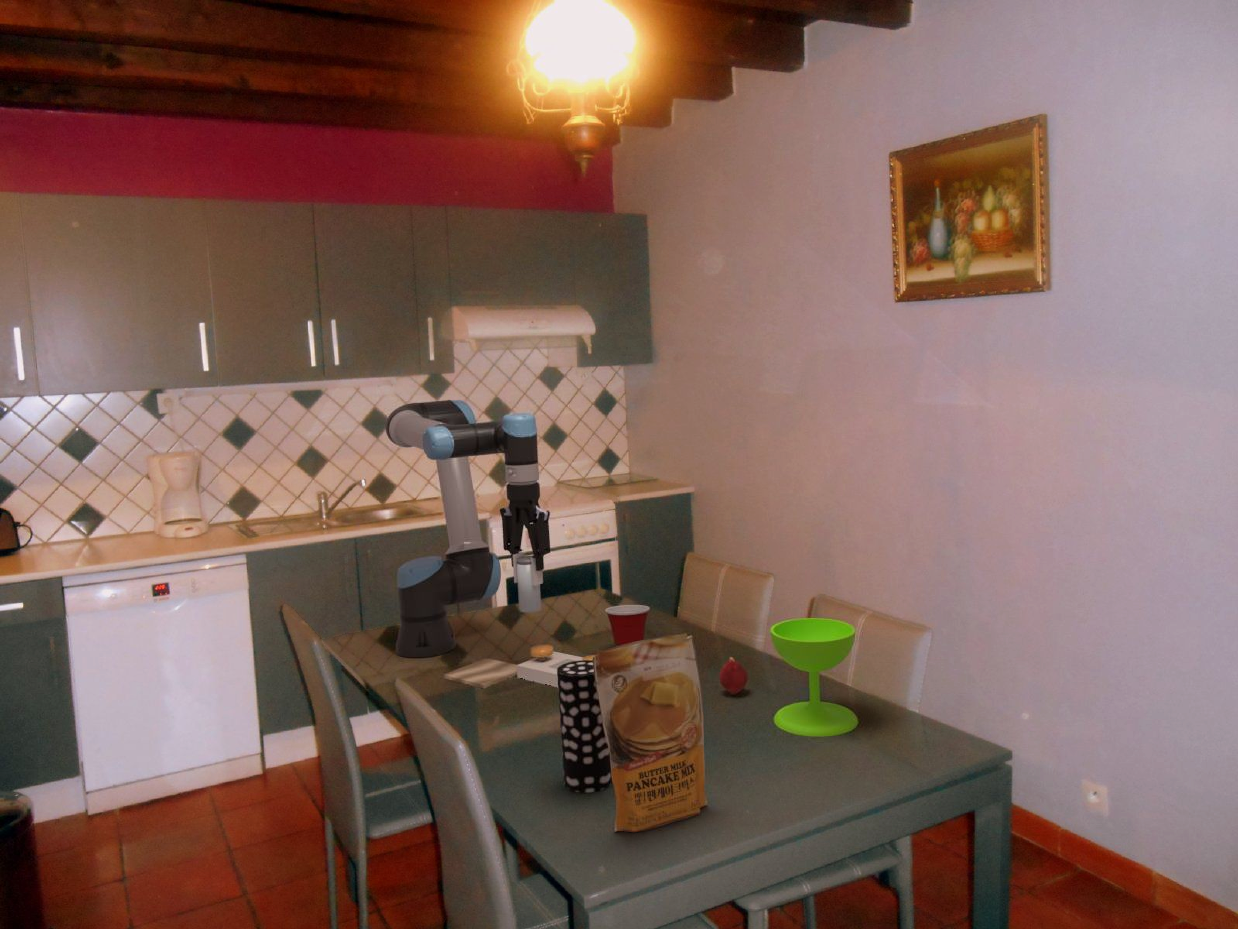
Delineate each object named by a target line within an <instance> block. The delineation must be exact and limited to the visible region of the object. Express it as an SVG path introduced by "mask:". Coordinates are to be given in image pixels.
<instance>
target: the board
mask: <svg viewBox="0 0 1238 929" xmlns="http://www.w3.org/2000/svg"><path fill="white" fill-rule="evenodd" d="M517 665H518V664H515V663H510V662H507V661H500V660H497V659H492V658H489V657H488V658H483V659H481V660H479V661H475V662H473V663H471V664H468V665H465V666H463V667H460V668H457V669H454V670H452V671H450V672H447V673H444V674H442V678H443V679H445V680H450V681H453V682H456V683H462V684H465V685H468V684H469V686H471V687H472V686H473V687H476V688H481V689H487V688H489V687H491V685H492V686H494V685H497V684H499V683H501V682H504V681H506V680H508V679H507V678H509V679H511V678H513V676H514V677H516V676H517ZM515 675H516V676H515ZM500 681H501V682H500ZM498 682H499V683H498ZM493 684H494V685H493Z"/></svg>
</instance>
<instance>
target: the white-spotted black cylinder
mask: <svg viewBox="0 0 1238 929" xmlns="http://www.w3.org/2000/svg"><path fill="white" fill-rule="evenodd" d="M557 679H558V687H557V691H558V708H559V726H560V737H561V754H562V767H563V768H562V769H563V770H562V771H563V784H564V786H565V788H566V789H568V790H569V791H572V792H576V793H584V794H585V793H594V792H600V791H602V790H604V789H607V788H608V787H609V786H611V785H613V782H612V775H611V763H610V752H609V748H608V744H607V741H606V737H605V733H604V729H603V724H602V717H601V710H600V703H599V697H598V694H597V690H596V685H595V677H594V669H593V660H580V661H573V662H568V663H565V664H563V665H561V666H559V667H558V668H557Z"/></svg>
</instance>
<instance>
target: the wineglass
mask: <svg viewBox="0 0 1238 929" xmlns="http://www.w3.org/2000/svg"><path fill="white" fill-rule="evenodd" d="M769 632H770V636H771V642H772V644H773V646H774V648H775V650H776V652H777V654H778V655H779V656H780V657H781V658H782V660H784V661H785V663H787V664H789V665H790V666H791V667H792V668H795V669H796V670H800V671H804V672H807V673H808V683H809V701H800V702H794V703H790V704H788V705H786V706H783V707H782V708H780V709H779V710H777V712H776V713H775V715H774V717H773V722H774V724H775V725H776V727H777V728H779V729H781V730H783V731H785V732H787V733H790V734H794V735H798V736H803V737H810V738H811V737H813V738H814V737H819V738H820V737H821V738H823V737H834V736H839V735H844V734H845V733H848V732H851V731H852V730H854V729H856V728H857V725H859V721H858V720H859V719H858V717H857V715H856V714H855V713H854V712H853V711H852V710H851V709H849V708H848V707H845V706H842V705H840V704H837V703H833V702H828V701H827V702H826V701H821V699H820V698H821V697H820V695H821V694H820V693H821V692H820V672H826V671H829V670H832V669H834V668H835V667H836V666H838V665H840V664H841V663H843V662H844V660H845V659H846V658H847V656H848V655H849V654H850V652H851V651H852V648H853V646H854V643H855V637H856V628H855V627H854V625H852V624H850V623H847V622H845V621H841V620H838V619H831V618H823V617H822V618H820V617H818V618H817V617H807V618H806V617H803V618H795V619H788V620H787V619H786V620H784V621H780V622H778V623H775V624H774V625H772V626H771V627H770V631H769Z"/></svg>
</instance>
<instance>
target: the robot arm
mask: <svg viewBox="0 0 1238 929" xmlns="http://www.w3.org/2000/svg"><path fill="white" fill-rule="evenodd" d="M385 433H386V435H387V438H388V439H389V440H390V441H391V442H392V443H393V444H394V445H396V446H398V447H401V448H413V447H414V448H417V449H419V450H423V451H424V454H425V455H426V457H427V458H428V459H429V460H431V461H432V460H433V461H435V462H436V463H435V464H436V469H437V476H438V481H439V487H440V488H439V489H440V494H441V495H440V496H441V499H442V506H443V513H444V519H445V526H446V532H447V536H448V543H449V547H448V549H447V551H446V552H445V553H444V555H445V560H443V557H441V556H438V555H430V556H423V557H419V558H418V557H417V558H414V559H412V560H409V561H407V562H405V563H403V564H402V565H400V567H399V568H398V569H397V576H396V577H397V581H396V582H397V584H396V586H397V592H398V601H399V602H398V604H399V613H400V615H399V616H400V626H399V629H398V635H397V640H396V641H395V642H396V643H395V651H396V654H397V655H398V656H400V657H404V658H414V659H415V658H429V657H435V656H439V655H442V654H443V655H444V654H446V653H448V652H450V651H452V650H454V649H455V648H456V646H457V644H456V643H457V642H456V637H455V634H454V632H453V629H452V627H451V625H450V622H449V619H448V616H447V606H452V605H457V604H462V603H468V602H473V601H482V600H484V599H488V598H490V597H493V596H495V595H496V594H497V593H498V590H499V588H500V584H501V581H502V580H501V579H502V578H501V577H502V570H501V569H502V568H501V562H500V559H499V556H498V555H497V554H496V553H495V552H491V551H490V546H489V545H488V544H487V543H485V542H484V541H483V539H482V533H481V526H480V520H479V515H478V509H477V502H476V496H475V489H474V484H473V477H472V472H471V466H470V460H469V457H475V456H476V457H477V456H487V455H497V454H498V455H499V454H503V456H504V467H505V469H504V470H505V481H506V482H507V484H506V485H505V486H506V490H505V491H506V500H508V501H509V503H508V506H506V507H501V508H500V509H499V513H500V514H499V515H500V516H501V521H502V523H501V526H502V527H501V528H502V544H503V550H504V551H507V552H509V554H510V558H511V561H510V562H511V567H512V568H513V583H514V584H518V580H517V563H516V558H518V557H521V556H524V552H522V551H523V549H522V547H521V546H522V540H523V534H524V527H525V529H526V530H527V535H528V538H529V542H530V546H531V551H532V554H533V555H531V556H532V557H531V568H532V585H533V586H536V585H539V584H540V585H541V584H544V578H543V576H544V575H543V570H544V569H545V565H544V564H545V562H544V556H546V555H547V554H550V553H551V540H550V539H551V538H550V526H549V524H550V522H549V521H550V520H549V519H550V515H551V512H550V510H543V509H542V508H541V506H540V504H539V500H540V497H541V487H540V483H539V482H538V481H539V480H540V470H539V455H538V452H539V451H538V428H537V422H536V417H535V415H534V414H532V413H511V414H510V413H508V414H505V415H504V416H503V417H502V419H497V420H496V419H495V420H494V419H493V420H489V421H486V422H477V420H476V416H475V413H474V411H473V409H472V407H471V406H470V405H469V404H468V403H467V402H465V401H464V400H461V399H457V400H455V399H453V400H451V399H447V400H446V399H445V400H437V401H424V402H423V401H422V402H410V403H406V404H403V405H401V406H398V407H397V408H395V409H394V410H393V411H391V412H390V413H389V416H388V417H387V418H386V422H385Z"/></svg>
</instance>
